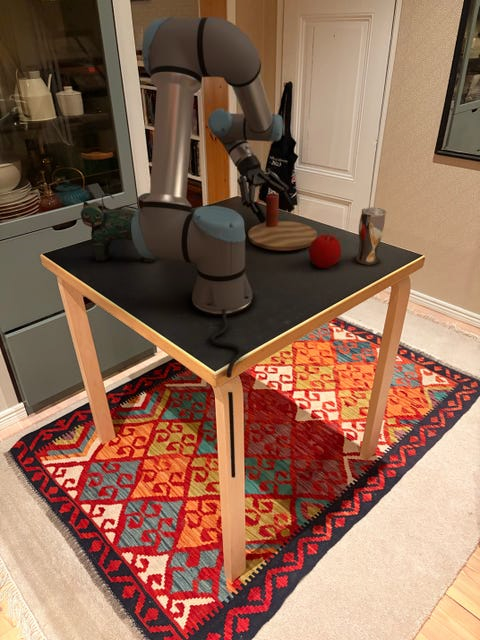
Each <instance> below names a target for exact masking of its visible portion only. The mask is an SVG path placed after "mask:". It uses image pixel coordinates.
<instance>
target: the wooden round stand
mask: <svg viewBox="0 0 480 640" xmlns="http://www.w3.org/2000/svg"><path fill="white" fill-rule="evenodd" d="M279 196H280V195H279V194H278V193H267V194H266V197H265V199H266V200H265V201H266V202H265V216H266V218H267V219H266V220H265V222H263V223H259V224H256V225H254V226H252V227H251V228H250V229H249V230H248V233H247V237H248V240H249V242H251V243H252V244H253V245H255V246H257V247H259V248H262V249H266V250H270V251H271V250H272V251H295V250H302V249H306V248H308V247H310V245H311V243H312V242H313V241H314V240H315V239H316V238H317V237H318V232H317V231H316V229H314V227H312V226H309V225H308V224H304V223H301V222H298V221H297V222H296V221H290V220H289V221H288V220H279V202H280V201H279V199H280V197H279Z"/></svg>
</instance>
